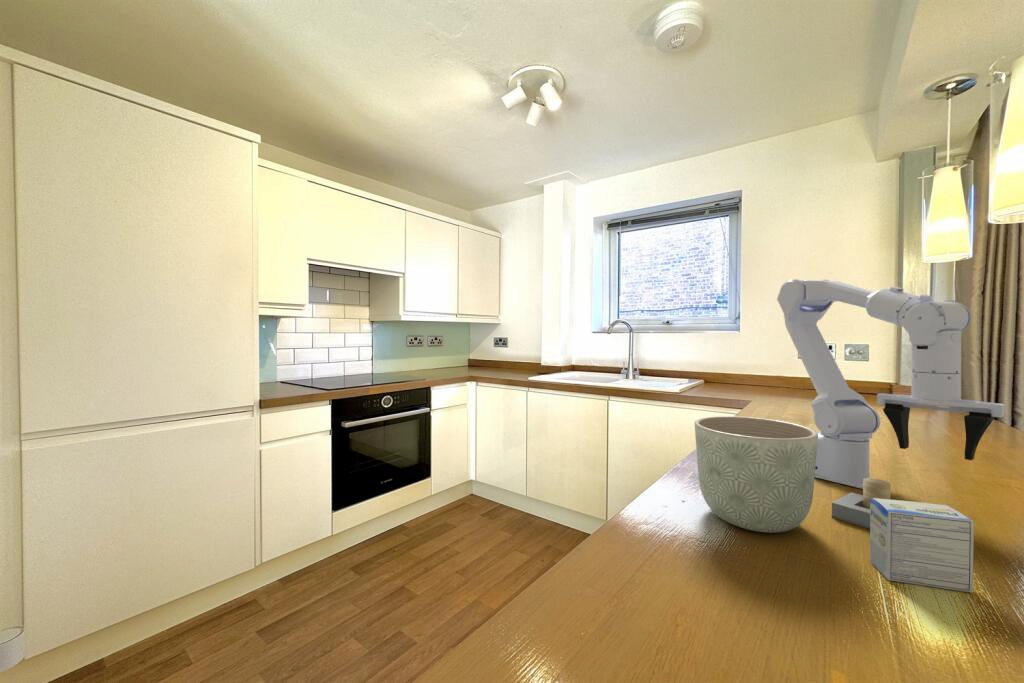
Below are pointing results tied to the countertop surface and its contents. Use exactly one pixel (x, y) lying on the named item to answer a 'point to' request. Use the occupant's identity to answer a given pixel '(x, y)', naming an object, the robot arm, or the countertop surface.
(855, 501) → the hole block
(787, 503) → the planter
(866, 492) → the maple pin
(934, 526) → the medicine box
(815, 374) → the robot arm
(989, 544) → the countertop surface
